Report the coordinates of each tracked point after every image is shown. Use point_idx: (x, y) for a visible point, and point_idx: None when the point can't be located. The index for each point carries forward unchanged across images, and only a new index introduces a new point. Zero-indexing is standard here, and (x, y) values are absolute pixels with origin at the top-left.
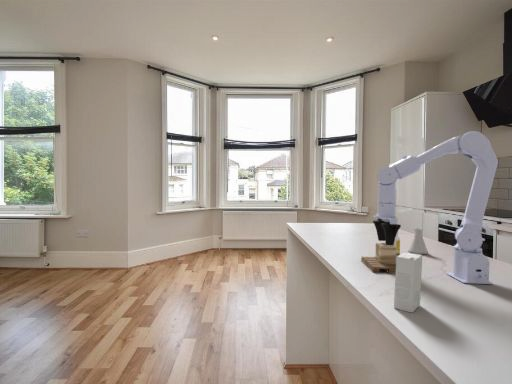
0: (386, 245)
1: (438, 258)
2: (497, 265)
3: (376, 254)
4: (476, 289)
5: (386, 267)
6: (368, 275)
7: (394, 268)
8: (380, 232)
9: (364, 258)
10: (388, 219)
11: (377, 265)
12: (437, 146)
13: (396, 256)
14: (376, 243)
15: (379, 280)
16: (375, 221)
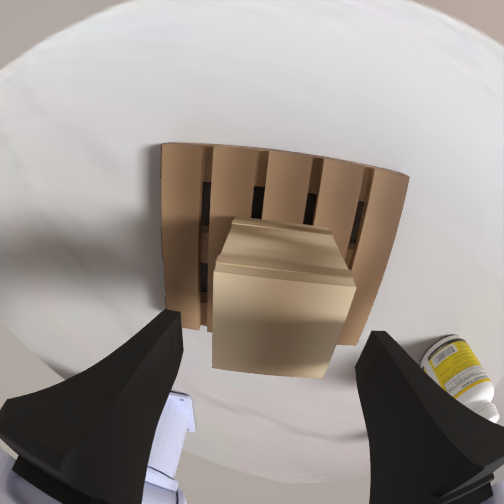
0: (230, 323)
1: (362, 438)
2: (281, 476)
3: (314, 240)
4: (79, 366)
5: (162, 219)
6: (121, 106)
7: (164, 256)
8: (392, 398)
9: (372, 175)
10: (5, 501)
11: (188, 181)
12: None
13: (421, 362)
14: (336, 283)
15: (67, 138)
16: (467, 476)
